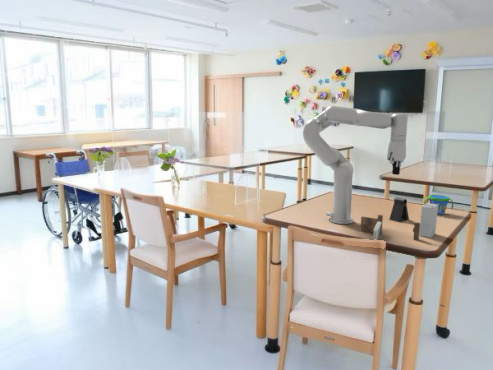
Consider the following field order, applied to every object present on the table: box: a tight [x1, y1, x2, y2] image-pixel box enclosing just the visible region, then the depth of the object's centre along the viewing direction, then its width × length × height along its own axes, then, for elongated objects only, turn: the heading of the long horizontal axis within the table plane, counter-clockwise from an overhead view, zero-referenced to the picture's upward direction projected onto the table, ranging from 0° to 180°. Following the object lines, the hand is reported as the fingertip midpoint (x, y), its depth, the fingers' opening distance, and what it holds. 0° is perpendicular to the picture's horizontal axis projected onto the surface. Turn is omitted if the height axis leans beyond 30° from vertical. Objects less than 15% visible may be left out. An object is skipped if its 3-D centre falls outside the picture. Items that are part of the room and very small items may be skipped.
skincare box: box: [419, 202, 438, 239], centre depth 201 cm, size 8×6×15 cm
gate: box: [372, 221, 381, 240], centre depth 196 cm, size 14×2×6 cm, turn 156°
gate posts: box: [360, 214, 420, 241], centre depth 202 cm, size 28×3×9 cm, turn 56°
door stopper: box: [389, 197, 410, 223], centre depth 228 cm, size 9×6×12 cm, turn 123°
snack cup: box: [423, 194, 454, 216], centre depth 241 cm, size 16×10×10 cm
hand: (395, 174), depth 213 cm, fingers closed
